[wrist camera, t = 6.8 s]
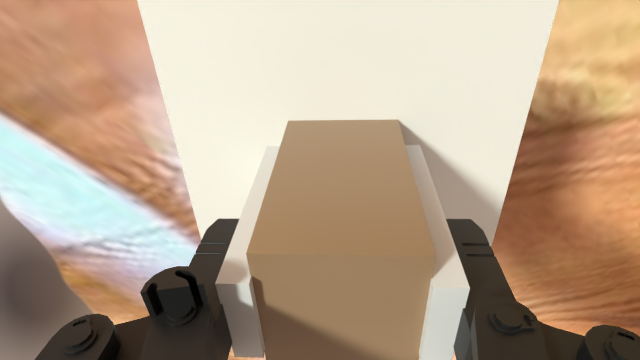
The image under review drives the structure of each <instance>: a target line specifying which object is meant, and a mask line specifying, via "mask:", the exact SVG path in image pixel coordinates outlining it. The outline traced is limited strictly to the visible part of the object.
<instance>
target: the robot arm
mask: <svg viewBox="0 0 640 360" xmlns="http://www.w3.org/2000/svg"><path fill="white" fill-rule="evenodd" d="M405 146H406V150H407V153H408V157H409V161H410V164H411V168H412V171H413V175H414V178H415V182H416V185H417V189H418V193H419V196H420V200H421V203H422V207H423V210H424V214H425V217H426V221H427V225H428V228H429V232H430V235H431V239H432V242H433V246H434V249H435V253H436V262H435V267H434V273H433V278H431V283H430V289H429V295H428V301H427V307H426V313H425V319H424V325H423V331H422V337H421V342H420V348H419V358H420V360H452V358H453V354H454V351H455V355H456V359H457V360H640V337H639V336H638V335H636V334H635V333H633V332H630V331H628V330H625V329H623V328H620V327H616V326H609V325H600V326H595V327H593V328H592V329H590V330H589V331H588V332H587V333H586V335H585V336H582V335H579V334H575V333H571V332H568V331H564V330H561V329H557V328H554V327H551V326H549V325H546V324H543V323H542V322H540V321H538V320H537V318H536V316H535V315H534V314H533V313H532V312H531V311H530V310H529V309H528V308H527V307H526V306H524V305H522V304H520V303H519V302H517V301H516V299H515V298H514V295H513V293H512V291H511V289H510V287H509V285H508V283H507V280H506V278H505V276H504V274H503V272H502V270H501V267H500V265H499V263H498V261H497V259H496V257H494V252H493V250H492V248H491V246H489V242H488V239H487V237H486V235H485V233H484V231H483V230H482V229H481V228H480V227H479V226H478V225H477V224H476V223H475V222H474V221H473V220H471V219H446V218H445V215H444V212H443V210H442V207H441V204H440V201H439V198H438V195H437V193H436V190H435V187H434V184H433V181H432V178H431V175H430V173H429V170H428V167H427V164H426V161H425V158H424V155H423V153H422V150H421V147H420V145H405ZM279 148H280V146H267V148H266V150H265V153H264V156H263V158H262V161H261V163H260V166H259V169H258V171H257V174H256V177H255V179H254V182H253V185H252V187H251V190H250V193H249V195H248V198H247V200H246V203H245V206H244V208H243V211H242V214H241V216H240V219H217V220H216V221H215V222H214V223H213V224H212V225H211V226H210V227H209V228H207V229H206V232H205V234H204V236H203V238H202V240H201V244H199V246H198V248H197V250H196V255H194V257H193V259H192V261H191V263H190V265H189V267H188V266H177V267H173V268H169V269H165V270H163V271H161V272H160V273H158V274H156V275H154V276H153V277H152V278H151V279H150V280H149V281H147V282H146V283H145V285H144V287H143V289H142V290H141V292H140V293H141V295H142V298H143V300H144V302H145V305H146V307H147V309H148V312H149V314H150V316H147V317H144V318H141V319H137V320H133V321H129V322H125V323H121V324H117V325H114V324H113V322H112V321H111V320H110V319H109V318H108V316H105V315H101V314H91V315H85V316H83V317H80V318H78V319H75V320H73V321H71V322H70V323H68V324H67V325H65V326H64V327H62V328H61V329H60V330H59V331H58V332H57V333H56V334H55V335H54V336H53V337H52V338H51V340H50V341H49V342H48V344H47V345H46V346H45V347H44V349H43V350H42V351H41V352H40V354H39V355H38V356H37V357H36V359H35V360H227V359H228V355H229V352H230V348H231V345H232V349H233V352H234V356H235V357H260V358H264V352H265V345H264V339H263V334H262V329H261V324H260V319H259V313H258V308H257V303H256V298H255V292H254V287H253V282H252V277H251V275H250V271H249V266H248V261H247V256H246V252H247V249H248V246H249V243H250V240H251V237H252V233H253V230H254V227H255V224H256V221H257V218H258V214H259V211H260V208H261V205H262V202H263V199H264V195H265V192H266V189H267V186H268V183H269V180H270V176H271V173H272V170H273V167H274V164H275V161H276V158H277V154H278V151H279Z"/></svg>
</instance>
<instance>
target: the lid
mask: <svg viewBox="0 0 640 360" xmlns="http://www.w3.org/2000/svg"><path fill="white" fill-rule="evenodd" d="M137 2H138V5H139V9H140V13H141V17H142V20H143V24H144V28H145V31H146V35H147V39H148V43H149V46H150V50H151V54H152V58H153V61H154V65H155V69H156V72H157V76H158V80H159V84H160V87H161V91H162V95H163V99H164V102H165V106H166V110H167V113H168V117H169V121H170V125H171V128H172V132H173V136H174V140H175V143H176V147H177V151H178V154H179V158H180V162H181V166H182V169H183V173H184V177H185V181H186V184H187V188H188V192H189V195H190V199H191V203H192V207H193V210H194V214H195V218H196V222H197V225H198V229H199V233H200V236H201V240H202V238H203V236H204V234H205V232H206V229H207V228H209V227H210V226H211V225H212V224H213V223H214V222H215V221H216V220H217V219H240V216H241V214H242V211H243V208H244V206H245V203H246V200H247V198H248V195H249V193H250V190H251V187H252V185H253V182H254V179H255V177H256V174H257V171H258V169H259V166H260V163H261V161H262V158H263V156H264V153H265V150H266V148H267V146H280V148H279V151H278V154H277V158H276V161H275V164H274V167H273V170H272V173H271V176H270V180H269V183H268V186H267V189H266V192H265V195H264V199H263V202H262V205H261V208H260V211H259V214H258V218H257V221H256V224H255V227H254V230H253V233H252V237H251V240H250V243H249V246H248V249H247V252H246V256H247V261H248V266H249V271H250V275H251V277H252V282H253V287H254V292H255V298H256V303H257V308H258V313H259V319H260V324H261V329H262V334H263V339H264V345H265V356H266V360H419V348H420V342H421V337H422V331H423V325H424V319H425V313H426V307H427V301H428V295H429V289H430V283H431V278H433V273H434V267H435V262H436V253H435V249H434V246H433V242H432V239H431V235H430V232H429V228H428V225H427V221H426V217H425V214H424V210H423V207H422V203H421V200H420V196H419V193H418V189H417V185H416V182H415V178H414V175H413V171H412V168H411V164H410V161H409V157H408V153H407V150H406V146H405V145H420V147H421V150H422V153H423V155H424V158H425V161H426V164H427V167H428V170H429V173H430V175H431V178H432V181H433V184H434V187H435V190H436V193H437V195H438V198H439V201H440V204H441V207H442V210H443V212H444V215H445V218H446V219H471V220H473V221H474V222H475V223H476V224H477V225H478V226H479V227H480V228H481V229H482V230H483V231H484V233H485V235H486V237H487V239H488V242H489V246H491V247H492V243H493V240H494V236H495V232H496V229H497V225H498V222H499V218H500V214H501V211H502V207H503V203H504V200H505V196H506V192H507V189H508V185H509V181H510V178H511V174H512V170H513V167H514V163H515V159H516V156H517V152H518V149H519V145H520V141H521V138H522V134H523V130H524V127H525V123H526V119H527V116H528V112H529V108H530V105H531V101H532V97H533V94H534V90H535V87H536V83H537V79H538V76H539V72H540V68H541V65H542V61H543V57H544V54H545V50H546V46H547V43H548V39H549V35H550V32H551V28H552V25H553V21H554V17H555V14H556V10H557V6H558V3H559V0H137Z"/></svg>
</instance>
